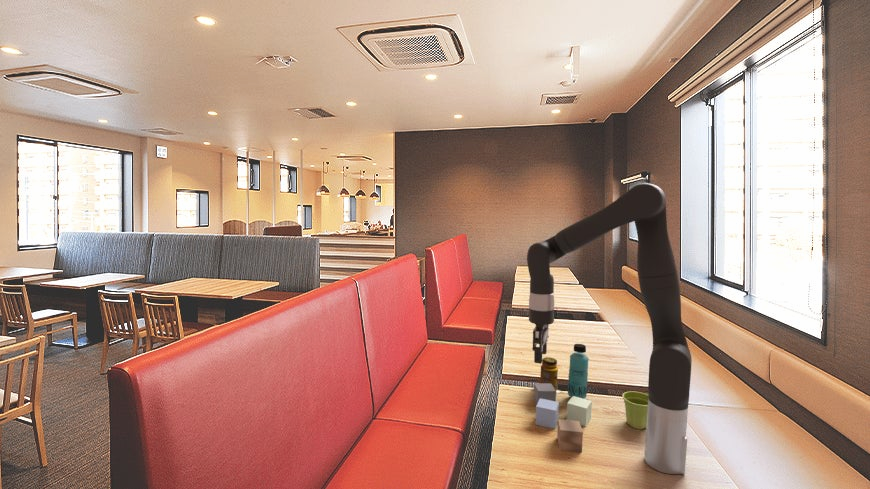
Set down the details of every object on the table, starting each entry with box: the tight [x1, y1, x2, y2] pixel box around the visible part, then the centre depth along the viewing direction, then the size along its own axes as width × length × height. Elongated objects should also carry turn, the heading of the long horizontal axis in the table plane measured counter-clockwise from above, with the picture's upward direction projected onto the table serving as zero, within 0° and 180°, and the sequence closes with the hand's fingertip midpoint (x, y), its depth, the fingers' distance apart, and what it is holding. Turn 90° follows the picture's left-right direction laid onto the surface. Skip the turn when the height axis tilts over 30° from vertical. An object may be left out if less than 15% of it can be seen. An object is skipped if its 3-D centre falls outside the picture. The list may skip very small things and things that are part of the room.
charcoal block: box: [533, 382, 557, 406], centre depth 143 cm, size 6×6×6 cm
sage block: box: [566, 396, 593, 427], centre depth 133 cm, size 6×6×6 cm
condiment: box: [530, 356, 563, 395], centre depth 153 cm, size 7×8×12 cm
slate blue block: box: [535, 398, 560, 430], centre depth 131 cm, size 6×6×6 cm
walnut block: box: [556, 418, 584, 453], centre depth 119 cm, size 6×6×6 cm
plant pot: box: [621, 390, 648, 430], centre depth 130 cm, size 9×9×9 cm
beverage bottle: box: [567, 343, 590, 399], centre depth 146 cm, size 6×7×20 cm
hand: (540, 358), depth 129 cm, fingers open, 8 cm apart
